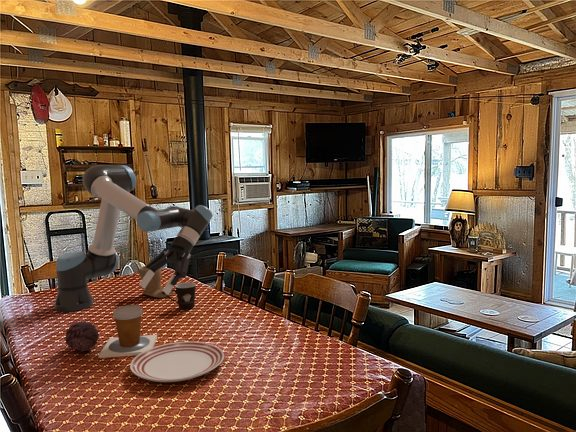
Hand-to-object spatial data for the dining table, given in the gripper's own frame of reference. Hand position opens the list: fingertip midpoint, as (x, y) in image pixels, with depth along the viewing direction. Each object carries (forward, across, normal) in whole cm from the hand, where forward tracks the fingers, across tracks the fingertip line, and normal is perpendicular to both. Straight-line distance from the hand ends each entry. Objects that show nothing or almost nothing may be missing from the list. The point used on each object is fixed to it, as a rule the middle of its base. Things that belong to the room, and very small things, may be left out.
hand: (153, 289), depth 151 cm
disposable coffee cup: (+19, 0, -4) cm, 19 cm away
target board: (+20, 0, -5) cm, 20 cm away
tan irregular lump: (-10, +43, -35) cm, 56 cm away
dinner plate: (+20, -26, -5) cm, 33 cm away
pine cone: (+27, +10, +2) cm, 29 cm away
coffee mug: (-7, +18, -32) cm, 37 cm away
